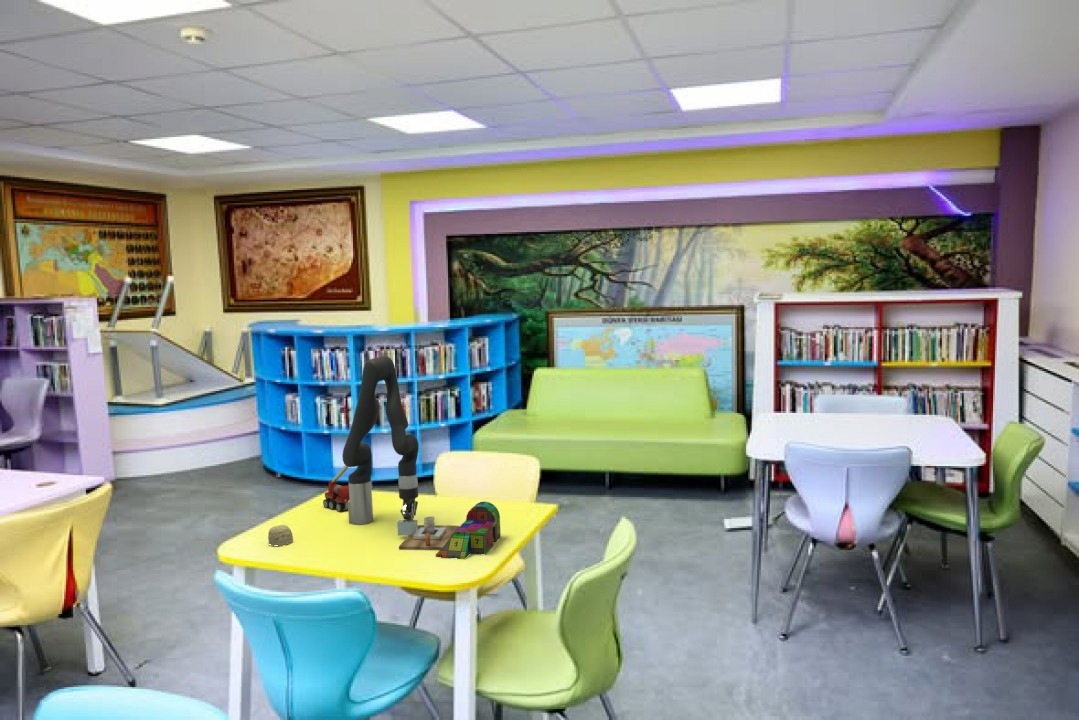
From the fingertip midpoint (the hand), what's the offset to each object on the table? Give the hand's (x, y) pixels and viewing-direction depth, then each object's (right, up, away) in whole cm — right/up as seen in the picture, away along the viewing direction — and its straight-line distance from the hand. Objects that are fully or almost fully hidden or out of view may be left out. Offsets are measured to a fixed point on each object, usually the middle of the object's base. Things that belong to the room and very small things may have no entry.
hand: (410, 528), depth 309 cm
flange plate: (+5, -1, -6) cm, 8 cm away
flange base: (+9, -3, -6) cm, 11 cm away
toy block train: (+25, -4, -17) cm, 30 cm away
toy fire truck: (-37, 0, +41) cm, 55 cm away
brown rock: (-50, -5, -5) cm, 50 cm away
